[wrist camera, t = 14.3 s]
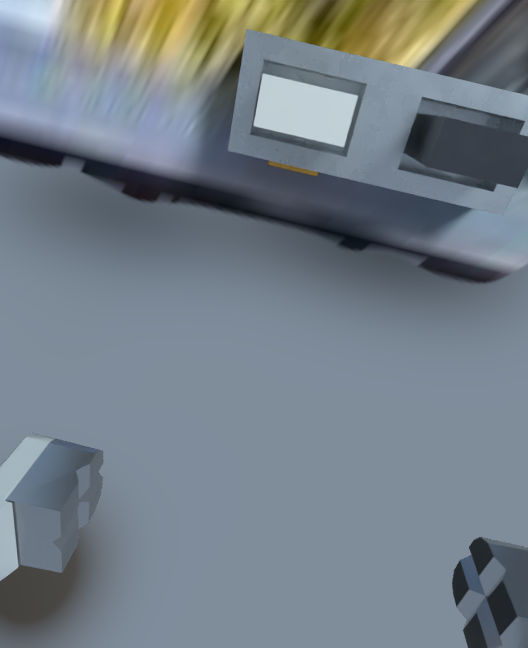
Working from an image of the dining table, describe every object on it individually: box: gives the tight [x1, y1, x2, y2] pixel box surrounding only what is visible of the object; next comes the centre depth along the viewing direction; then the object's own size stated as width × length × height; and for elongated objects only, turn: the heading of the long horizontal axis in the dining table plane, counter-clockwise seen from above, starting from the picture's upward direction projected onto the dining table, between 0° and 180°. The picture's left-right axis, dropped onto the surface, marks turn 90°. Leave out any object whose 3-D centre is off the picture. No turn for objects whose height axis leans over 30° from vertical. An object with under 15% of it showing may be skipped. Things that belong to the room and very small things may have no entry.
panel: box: [254, 74, 358, 147], centre depth 31 cm, size 6×3×9 cm, turn 79°
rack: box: [228, 29, 528, 216], centre depth 32 cm, size 22×8×10 cm, turn 78°
